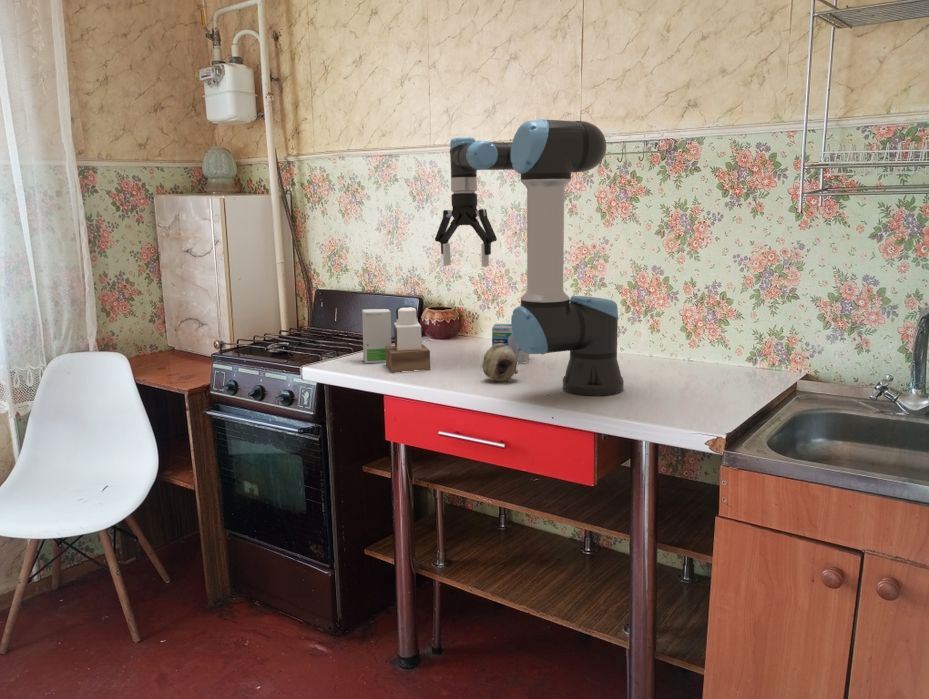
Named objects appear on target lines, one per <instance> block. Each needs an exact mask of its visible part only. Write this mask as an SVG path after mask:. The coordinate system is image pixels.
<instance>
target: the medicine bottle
mask: <svg viewBox="0 0 929 699" xmlns="http://www.w3.org/2000/svg"><path fill="white" fill-rule="evenodd" d="M395 310H396V312H395V314H396V318H395V319H396V322H395V321H394V323H393V333H394V336H393V337H394V346H395V347H396V349H397V351H410V350H421V349H422V344H423V342H422V325H421V323H419V319H418V317H419V315H418V308H417V307H415V306H411V305H409V306H407V305H405V306H399V307H397V308H396V309H395Z"/></svg>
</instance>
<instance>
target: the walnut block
mask: <svg viewBox="0 0 929 699" xmlns="http://www.w3.org/2000/svg"><path fill="white" fill-rule="evenodd" d="M385 352H386V362H385V366H386V367H387V368H388V369H390V370H391V371H390V370H389V371H390V373H391V374H396V373H395V372H400V373H403V372H402V371H413V372H415V371H414V370H426V371H431V350H430V349H429V348H428V347H426V346H425V345H424V344H423V343H422V349H421V350H410V351H397V349H396V347H395V345H391V346H385Z"/></svg>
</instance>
